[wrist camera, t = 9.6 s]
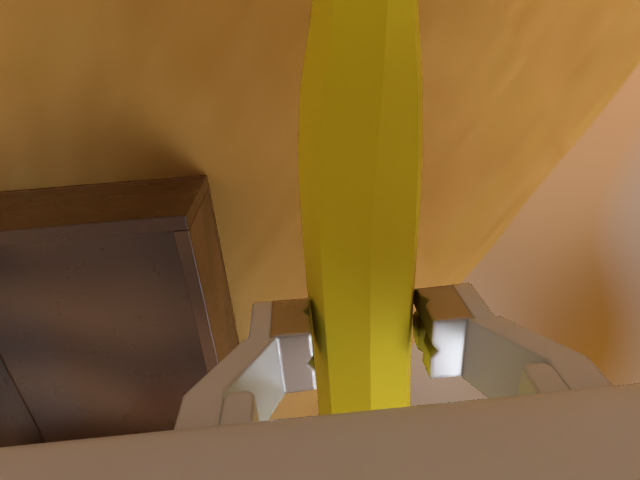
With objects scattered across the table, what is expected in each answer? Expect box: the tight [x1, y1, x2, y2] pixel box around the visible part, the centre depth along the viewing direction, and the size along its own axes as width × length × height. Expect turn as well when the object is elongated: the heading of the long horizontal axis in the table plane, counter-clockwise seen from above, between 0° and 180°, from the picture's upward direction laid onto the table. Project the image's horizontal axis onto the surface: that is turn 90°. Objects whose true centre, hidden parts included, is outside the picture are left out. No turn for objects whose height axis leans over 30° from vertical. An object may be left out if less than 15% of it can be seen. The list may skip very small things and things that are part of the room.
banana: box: [298, 0, 423, 415], centre depth 11 cm, size 3×19×6 cm, turn 4°
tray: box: [0, 175, 239, 447], centre depth 26 cm, size 22×15×6 cm
